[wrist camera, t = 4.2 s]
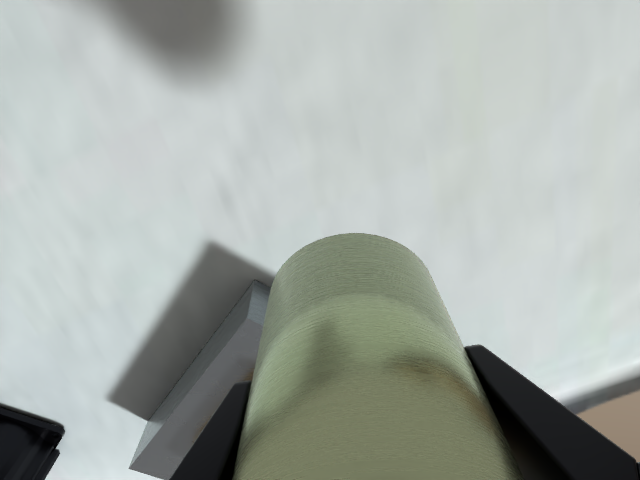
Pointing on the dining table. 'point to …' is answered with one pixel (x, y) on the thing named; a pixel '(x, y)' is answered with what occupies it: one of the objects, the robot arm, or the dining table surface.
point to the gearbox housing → (203, 386)
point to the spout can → (365, 375)
